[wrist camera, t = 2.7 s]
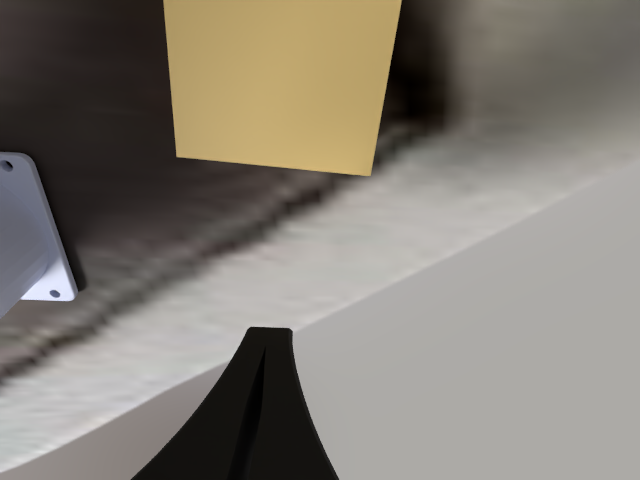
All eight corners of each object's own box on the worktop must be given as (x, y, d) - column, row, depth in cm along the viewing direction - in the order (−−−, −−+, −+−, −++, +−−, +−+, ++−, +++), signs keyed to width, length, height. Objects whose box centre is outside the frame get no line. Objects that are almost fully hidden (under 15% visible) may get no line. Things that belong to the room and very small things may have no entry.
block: (201, 129, 17) (176, 156, 14) (191, -74, 14) (155, -94, 11) (362, 145, 18) (370, 176, 15) (393, -49, 14) (412, -61, 11)
